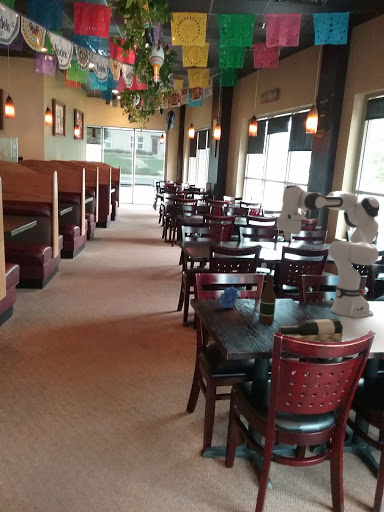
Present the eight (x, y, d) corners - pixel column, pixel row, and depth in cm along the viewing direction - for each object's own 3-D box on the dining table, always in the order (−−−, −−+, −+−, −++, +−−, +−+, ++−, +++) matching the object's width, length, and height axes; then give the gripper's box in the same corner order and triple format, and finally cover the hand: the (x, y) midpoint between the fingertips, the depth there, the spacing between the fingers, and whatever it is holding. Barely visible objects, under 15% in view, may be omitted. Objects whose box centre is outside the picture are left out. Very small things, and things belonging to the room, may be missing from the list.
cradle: (324, 331, 202) (325, 324, 202) (341, 341, 190) (342, 334, 190) (279, 334, 195) (280, 326, 195) (294, 345, 183) (295, 337, 183)
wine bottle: (343, 336, 191) (284, 341, 182) (332, 336, 199) (275, 340, 190) (341, 318, 192) (283, 321, 183) (330, 318, 200) (273, 322, 191)
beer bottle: (275, 325, 207) (280, 277, 202) (259, 324, 206) (264, 277, 201) (271, 319, 214) (276, 273, 209) (256, 319, 213) (260, 273, 209)
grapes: (233, 304, 235) (235, 283, 232) (239, 308, 229) (241, 287, 226) (215, 306, 230) (216, 285, 227) (221, 310, 224) (222, 288, 221)
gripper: (275, 212, 239) (272, 236, 242) (293, 216, 220) (290, 243, 223) (285, 212, 241) (282, 236, 244) (304, 217, 222) (301, 243, 225)
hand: (286, 239), depth 233 cm, fingers closed
